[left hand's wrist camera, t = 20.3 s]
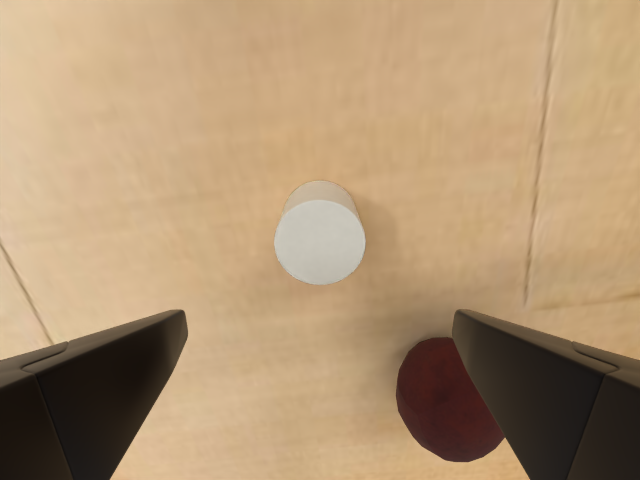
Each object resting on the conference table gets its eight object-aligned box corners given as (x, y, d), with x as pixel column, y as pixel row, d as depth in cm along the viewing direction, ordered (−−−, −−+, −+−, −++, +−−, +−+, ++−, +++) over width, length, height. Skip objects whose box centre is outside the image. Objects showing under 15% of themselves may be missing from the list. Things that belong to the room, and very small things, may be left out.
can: (350, 174, 22) (359, 192, 17) (361, 244, 23) (371, 277, 19) (276, 187, 22) (264, 208, 17) (291, 255, 24) (284, 291, 19)
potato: (418, 411, 28) (448, 503, 22) (367, 348, 26) (383, 429, 20) (501, 370, 27) (559, 455, 20) (454, 299, 25) (503, 368, 18)
